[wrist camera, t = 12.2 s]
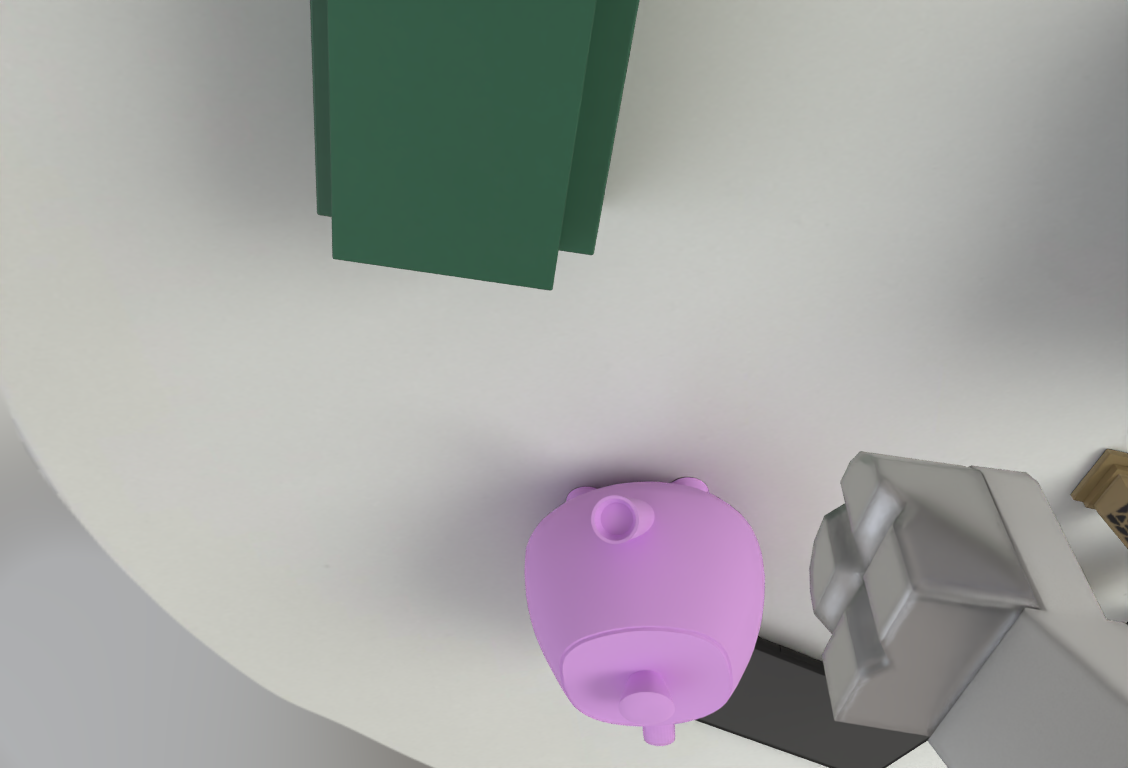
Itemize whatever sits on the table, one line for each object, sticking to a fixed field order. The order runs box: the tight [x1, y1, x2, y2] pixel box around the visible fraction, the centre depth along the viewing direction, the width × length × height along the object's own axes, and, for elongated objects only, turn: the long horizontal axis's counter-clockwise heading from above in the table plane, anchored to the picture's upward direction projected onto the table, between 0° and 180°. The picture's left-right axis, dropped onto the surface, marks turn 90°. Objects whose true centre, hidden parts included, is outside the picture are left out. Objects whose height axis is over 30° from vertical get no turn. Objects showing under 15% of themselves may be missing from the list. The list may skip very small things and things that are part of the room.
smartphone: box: [696, 637, 931, 768], centre depth 49 cm, size 7×1×15 cm
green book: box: [327, 0, 596, 290], centre depth 24 cm, size 13×6×2 cm, turn 172°
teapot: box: [525, 477, 765, 746], centre depth 38 cm, size 10×15×9 cm
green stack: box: [310, 0, 639, 255], centre depth 26 cm, size 14×9×4 cm, turn 172°
